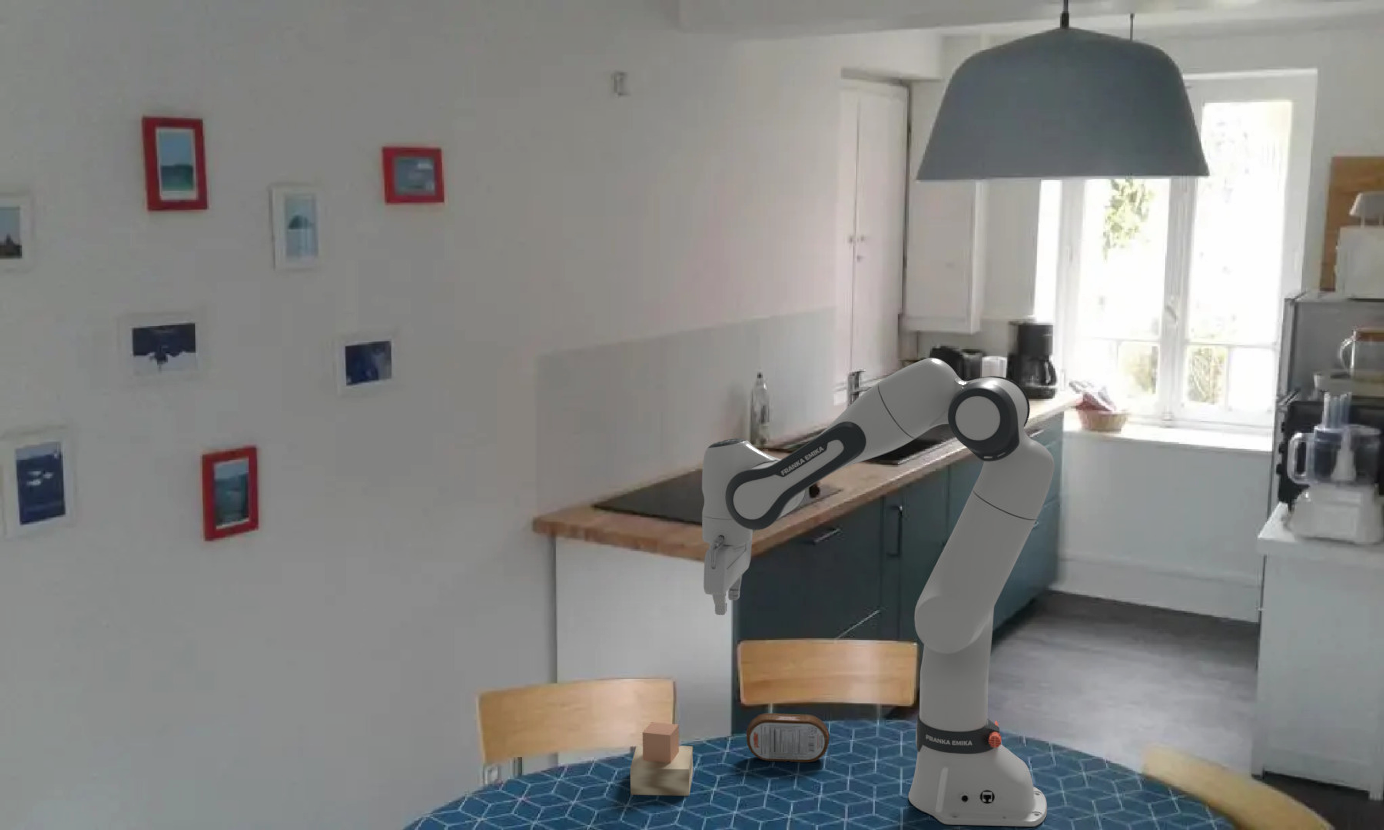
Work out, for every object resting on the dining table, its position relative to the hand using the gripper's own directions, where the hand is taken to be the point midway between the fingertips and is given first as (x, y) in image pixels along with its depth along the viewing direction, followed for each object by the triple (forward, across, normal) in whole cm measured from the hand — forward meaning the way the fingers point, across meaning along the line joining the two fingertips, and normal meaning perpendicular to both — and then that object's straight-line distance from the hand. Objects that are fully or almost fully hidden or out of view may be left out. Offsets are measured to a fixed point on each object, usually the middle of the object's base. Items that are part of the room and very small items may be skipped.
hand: (727, 606), depth 225 cm
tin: (+29, +4, -10) cm, 31 cm away
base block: (+30, -11, +9) cm, 33 cm away
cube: (+24, -11, +9) cm, 28 cm away
